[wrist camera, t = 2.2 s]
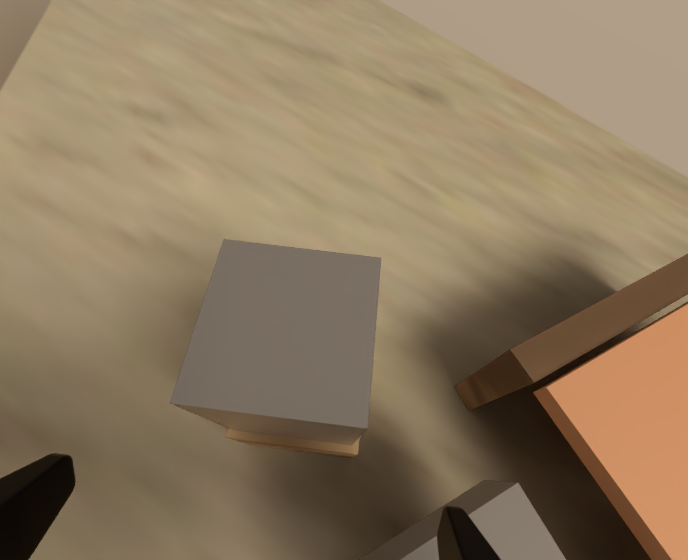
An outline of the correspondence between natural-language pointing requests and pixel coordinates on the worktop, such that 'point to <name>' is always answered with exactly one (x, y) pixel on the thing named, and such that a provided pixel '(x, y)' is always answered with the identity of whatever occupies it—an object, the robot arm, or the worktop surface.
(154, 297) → the worktop surface
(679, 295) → the frame
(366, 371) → the stone
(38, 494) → the robot arm
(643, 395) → the trapdoor
